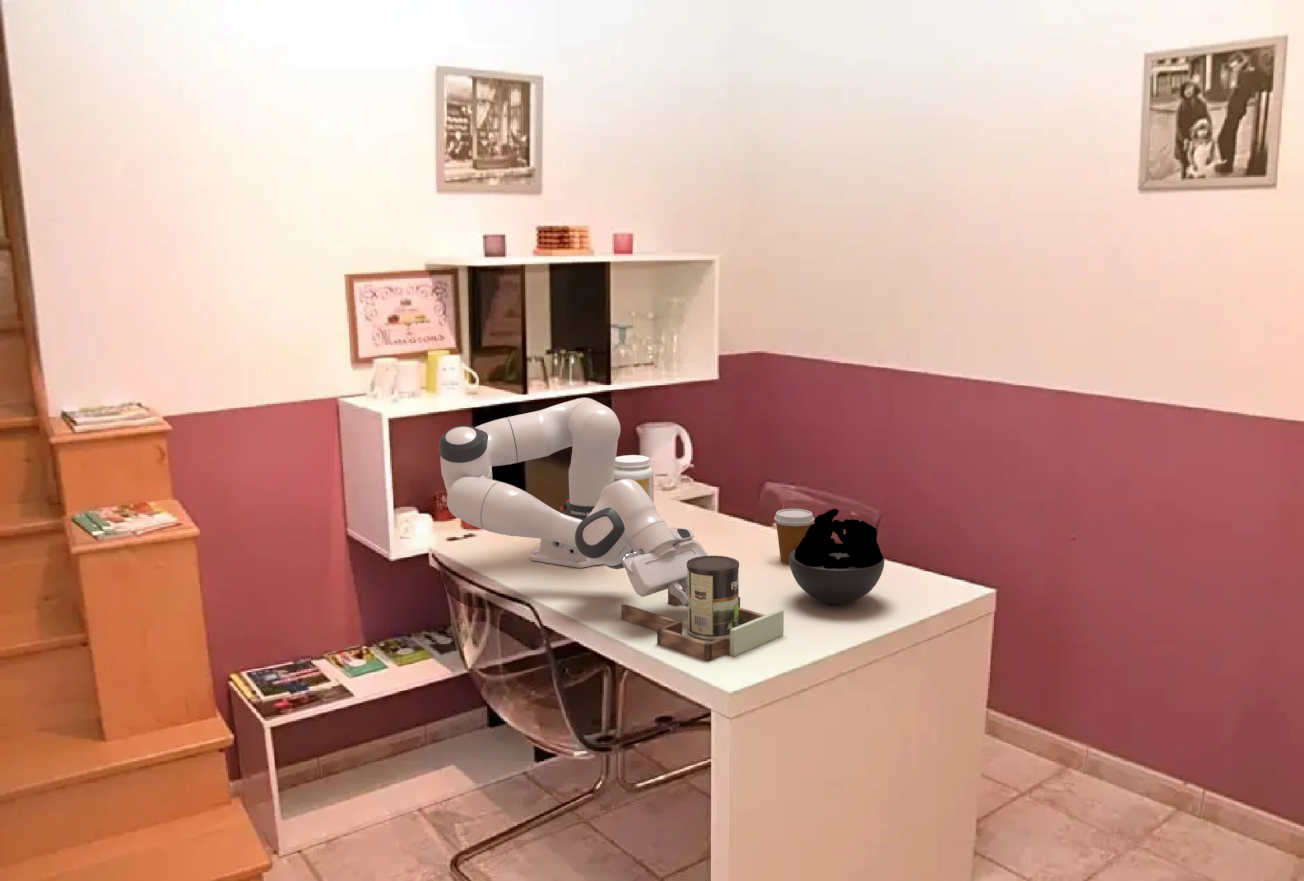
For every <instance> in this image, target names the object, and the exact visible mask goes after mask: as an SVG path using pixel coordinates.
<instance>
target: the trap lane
mask: <svg viewBox="0 0 1304 881" xmlns="http://www.w3.org/2000/svg"><path fill="white" fill-rule="evenodd" d="M680 589H681V590H683V591H684V592H685V588H684V589H683V588H682V587H681V588H680ZM685 593H686V592H685ZM667 602H668V604H672V605H675V606H682V605H683V604H682V603H681V601H680V600H679V599H678V598H677V597H675V596H674V595H672V594H671V593H670V592H669V590H668V589H667ZM738 604H739V625H742V624H745V623H747V622H750V621H752V620H754V619H757V618H759V617H762V616H764V615H765V614H763V613H761V612H755V611H753V610H750V609H746V608H743V607H741V597H740V596H739V599H738ZM683 606H685V607H688V604H686V605H683ZM620 613H621V614H620V616H621V617H620V619H621V620H622V621H626V622H627V623H628V622H629V623H630V624H631V623H632V624H634V625H638V626H641V627H644V628H647V629H650V630H653V631H656V642H657V643H656V644H657V645H660V646H663V647H666V648H668V649H672V650H675V651H677V652H679V653H683V654H687V655H689V656H691V657H694V658H698V659H701V660H703V661H707V662H710V661H712V660H714V659H717V658H719V657H721V656H724V655H729V656H731V655H730V637H728V636H723V637H721V638H718V639H716V640H710V641H709V642H706V641H703V640H700V639H698V638H695V637H691V636H688V635H685V634H683V622H682V621H680V620H677V619H674V618H670V617H667V616H665V615H661V614H657V613H654V612H650V611H647V610H645V609H642V608H638V607H635V606H632V605H629V604H626V603H624V604H621V605H620Z"/></svg>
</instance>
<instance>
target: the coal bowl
mask: <svg viewBox="0 0 1304 881" xmlns="http://www.w3.org/2000/svg"><path fill="white" fill-rule="evenodd" d="M839 512H840V510H839V509H838V508H833V509H829V510H828V511H826V512H824V513H821V514H818V515H817V516H816V517H814V521H813V523H812V525H811V526H810V527H809V528H808V530H807V532H806V533H805V537H803V538H802V540H801V542H800V544H799V545H798V547H797V548H796V549H795V550H793V551H792V552H790V554H789V564H790V565H789V564H788V565H789V568H790V572H791V574H792V576H793V578H794V580H795V583H797V585H798V586H799V587H800V588H801V589H802V591H804V592H805V593H806V594H807V595H809V596H810V597H811V598H813V599H815V600H818V601H819V602H823V603H826V604H830V605H845V604H850V603H853V602H855V601H858V600H860V599H862V598H864V597H865V596H866V595H868V594H869V593H870V592H871V591H872V590H873V588H874V587H875V586H876V585H877V584H878V582H879V580H880V578H881V576H882V575H883V574H882V573H883V571H884V567H885V557H884V555H883V554H882V551H881V548H880V546H879V543H878V540H877V539H878V538H877V537H878V531H877V528H876V527H875V526H873V525H871V524H869V523H868V522H866V521H865V520H861V521H860V520H859V519H851V518H850V519H848V518H845V519H844V520H843V521H841V520H839V519H834V518H835V517H836V516H837V515H838V514H839ZM844 530H845V531H844ZM833 533H835V535H836V536H837V538H838V539H839V540H840V543H839V542H836V540H835V538H833V537H832V536H833Z"/></svg>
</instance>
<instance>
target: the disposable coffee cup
mask: <svg viewBox="0 0 1304 881" xmlns="http://www.w3.org/2000/svg"><path fill="white" fill-rule="evenodd" d="M773 518H774V519H773V520H774V522H775V524H776V532H777V539H778V540H777V541H778V548H779V549H778V550H779V557H780V562H781V563H783V564H784V565H789V566H790V564H789V554H790V552H792V551H793V550H795V549H796V548H797V547H798V545H799V544H800V542H801V540H802V538H803V537H805V533H806V532H807V530H808V528H809V527H810V526H811V525H812V524H814V520H815V517H814V515H813V512H812V511H809V510H807V509H801V508H786V509H785V508H784V509H779V510H777V511H776V513H775V516H774V517H773Z"/></svg>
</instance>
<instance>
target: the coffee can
mask: <svg viewBox="0 0 1304 881" xmlns="http://www.w3.org/2000/svg"><path fill="white" fill-rule="evenodd" d="M686 564H687V584H688V606H687V632H688V634H689V635H690V637H691V636H692V638H695V639H699V640H700V639H701V640H706V641H707V640H709V641H714V640H716V639H718V638H721V637H723V636H728V637H730V629H732V628H735V627H737V626H740V624H739V604H738V599H739V597H740V596H739V595H740V593H739V588H740V587H739V576H740V575H739V573H740V572H739V568H740V563H739V560H738V559H736V558H733V557H731V556H730V557H729V556H724V555H708V556H700V557H695V558H692V559H690V560H688V561H687V563H686Z"/></svg>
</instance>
